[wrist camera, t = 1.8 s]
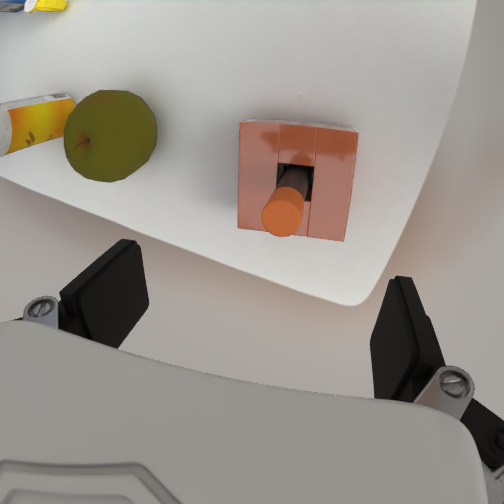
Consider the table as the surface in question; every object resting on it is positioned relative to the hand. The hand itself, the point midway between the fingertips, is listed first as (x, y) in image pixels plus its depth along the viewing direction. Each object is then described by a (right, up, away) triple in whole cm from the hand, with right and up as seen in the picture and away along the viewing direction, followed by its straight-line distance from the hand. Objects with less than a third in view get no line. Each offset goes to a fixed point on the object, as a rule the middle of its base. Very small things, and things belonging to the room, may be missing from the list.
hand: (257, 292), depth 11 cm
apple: (-14, +16, +22) cm, 30 cm away
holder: (+5, +10, +20) cm, 23 cm away
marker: (+5, +10, +20) cm, 23 cm away
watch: (-27, +35, +15) cm, 47 cm away
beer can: (-25, +20, +23) cm, 39 cm away
